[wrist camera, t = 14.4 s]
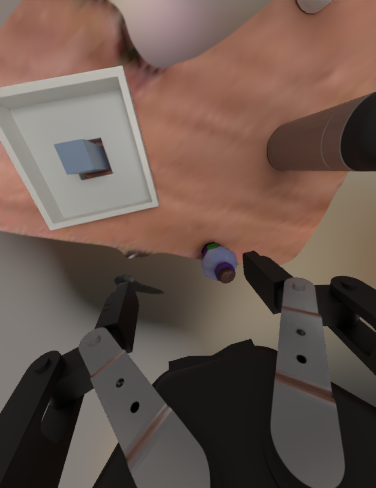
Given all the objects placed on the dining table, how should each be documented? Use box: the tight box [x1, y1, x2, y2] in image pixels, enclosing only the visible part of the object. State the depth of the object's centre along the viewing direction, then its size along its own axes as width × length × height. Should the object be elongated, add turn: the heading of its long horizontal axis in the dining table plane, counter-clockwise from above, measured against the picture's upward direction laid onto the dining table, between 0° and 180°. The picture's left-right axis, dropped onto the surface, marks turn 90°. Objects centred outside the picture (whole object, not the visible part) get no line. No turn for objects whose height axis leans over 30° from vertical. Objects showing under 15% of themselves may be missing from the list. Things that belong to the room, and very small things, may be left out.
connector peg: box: [53, 139, 111, 175], centre depth 30 cm, size 4×4×10 cm
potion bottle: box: [202, 242, 238, 283], centre depth 41 cm, size 9×9×12 cm
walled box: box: [0, 66, 159, 230], centre depth 31 cm, size 20×20×7 cm
